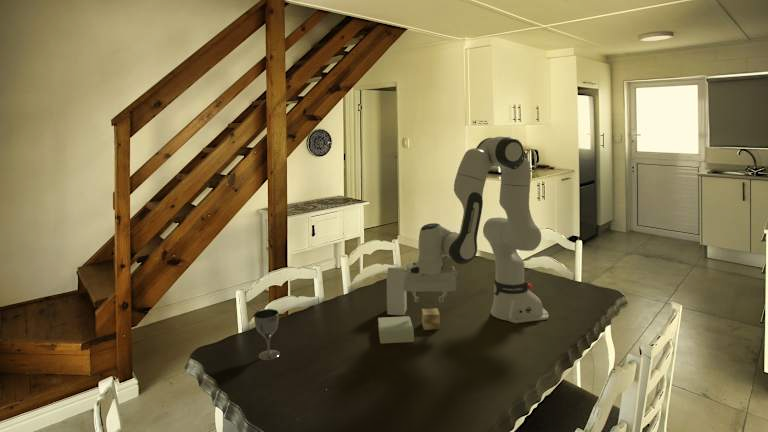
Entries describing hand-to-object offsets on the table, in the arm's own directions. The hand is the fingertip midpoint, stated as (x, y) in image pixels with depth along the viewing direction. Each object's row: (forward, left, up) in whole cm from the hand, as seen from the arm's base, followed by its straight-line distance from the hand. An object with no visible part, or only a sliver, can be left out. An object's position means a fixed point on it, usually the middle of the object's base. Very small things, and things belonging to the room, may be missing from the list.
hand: (429, 301), depth 177 cm
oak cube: (-1, 0, -10) cm, 10 cm away
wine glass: (+57, +19, -10) cm, 61 cm away
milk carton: (+11, -15, -10) cm, 21 cm away
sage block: (+13, +7, -10) cm, 18 cm away
